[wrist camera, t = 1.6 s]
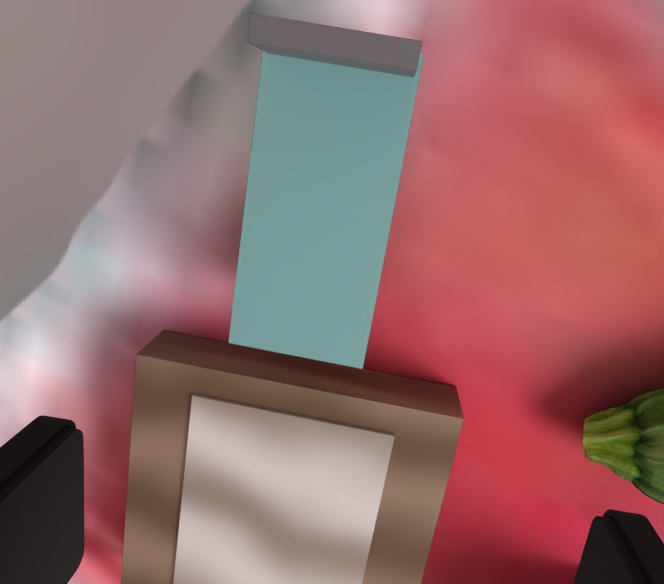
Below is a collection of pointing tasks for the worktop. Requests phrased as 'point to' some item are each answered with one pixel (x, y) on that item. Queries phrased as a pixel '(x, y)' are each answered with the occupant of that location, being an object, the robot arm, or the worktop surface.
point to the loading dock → (281, 468)
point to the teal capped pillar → (321, 186)
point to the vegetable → (631, 441)
